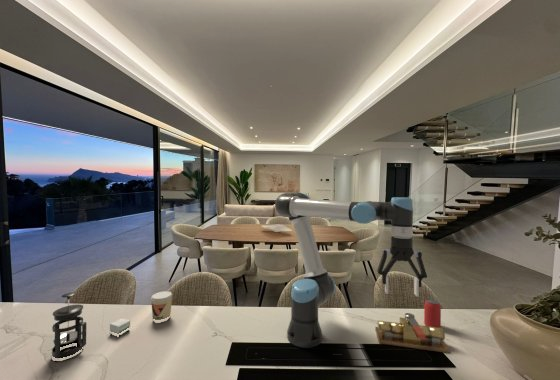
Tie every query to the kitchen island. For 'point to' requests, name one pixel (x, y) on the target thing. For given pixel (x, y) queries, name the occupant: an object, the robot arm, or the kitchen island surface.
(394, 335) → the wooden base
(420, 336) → the lever
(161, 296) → the coffee cup
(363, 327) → the kitchen island surface
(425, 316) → the beer can
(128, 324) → the small box
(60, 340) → the french press
